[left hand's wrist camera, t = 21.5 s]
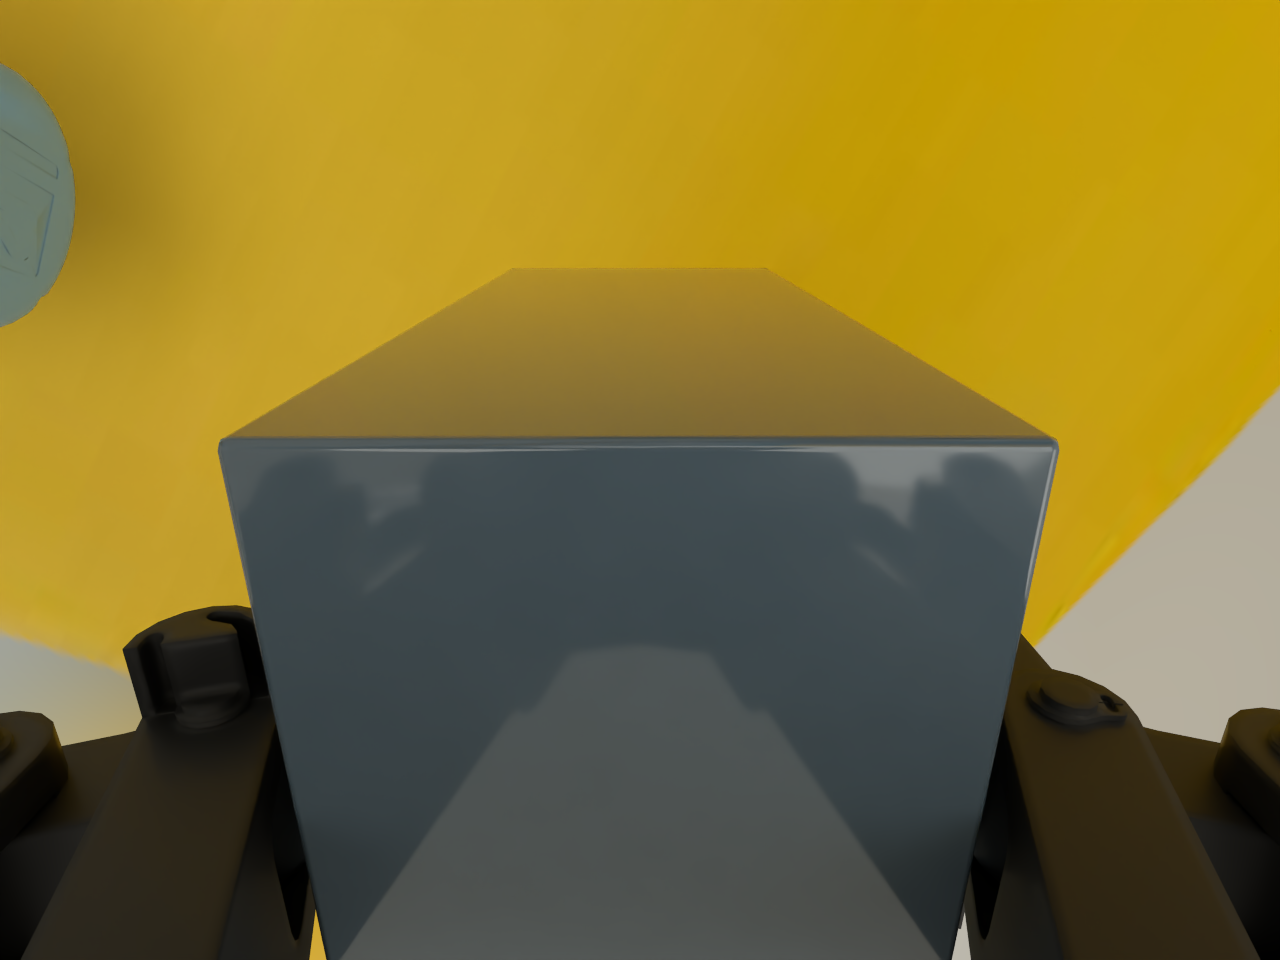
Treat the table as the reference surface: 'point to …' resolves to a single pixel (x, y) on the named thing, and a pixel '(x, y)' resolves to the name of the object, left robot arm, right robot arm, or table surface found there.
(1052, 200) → the table surface
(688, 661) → the brick
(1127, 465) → the table surface
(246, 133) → the table surface
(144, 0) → the table surface
